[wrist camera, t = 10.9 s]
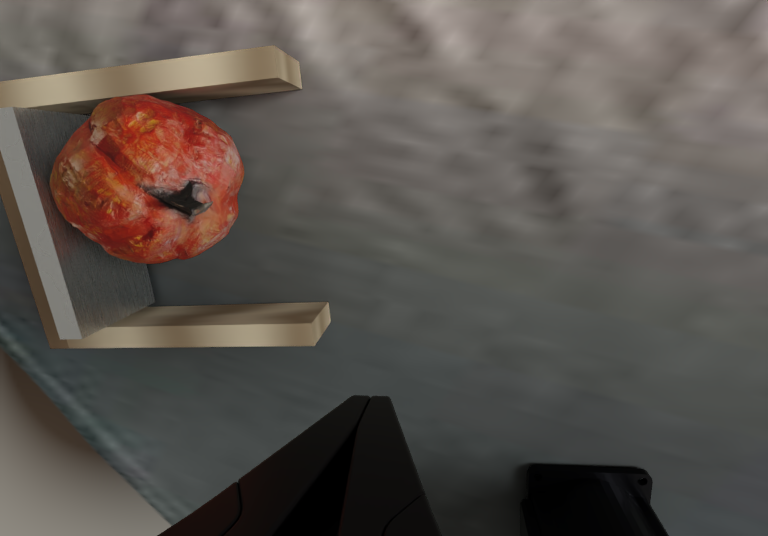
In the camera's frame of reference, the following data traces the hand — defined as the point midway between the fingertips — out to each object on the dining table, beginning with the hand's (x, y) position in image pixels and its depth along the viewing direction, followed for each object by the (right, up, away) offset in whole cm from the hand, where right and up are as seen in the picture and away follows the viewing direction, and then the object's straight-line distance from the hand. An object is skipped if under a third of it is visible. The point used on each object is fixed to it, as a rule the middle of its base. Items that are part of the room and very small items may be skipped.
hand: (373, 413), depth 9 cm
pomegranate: (-10, +8, +13) cm, 18 cm away
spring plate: (-14, +6, +14) cm, 21 cm away
